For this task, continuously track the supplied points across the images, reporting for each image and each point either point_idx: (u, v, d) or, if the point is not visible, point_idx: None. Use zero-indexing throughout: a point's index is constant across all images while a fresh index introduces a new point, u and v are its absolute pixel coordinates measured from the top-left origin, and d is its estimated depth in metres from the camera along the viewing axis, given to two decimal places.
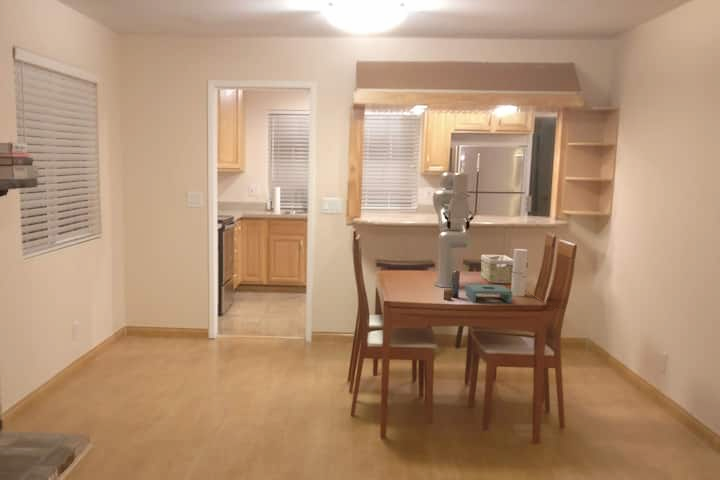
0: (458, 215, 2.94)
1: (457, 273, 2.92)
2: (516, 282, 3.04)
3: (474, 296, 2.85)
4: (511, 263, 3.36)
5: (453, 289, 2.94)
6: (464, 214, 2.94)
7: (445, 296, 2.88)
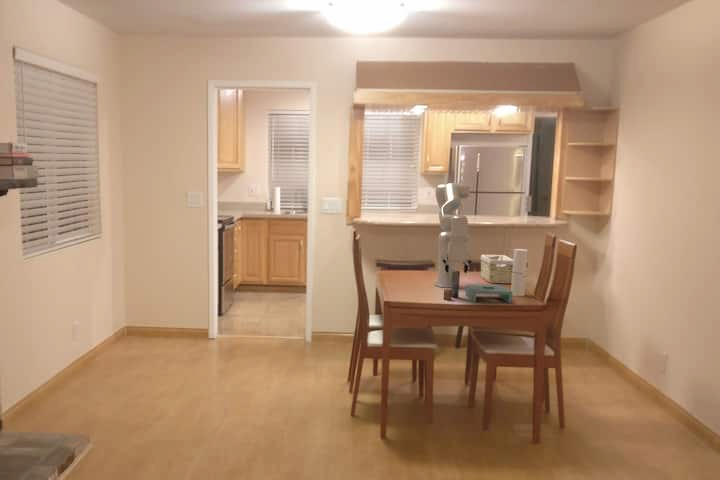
0: (456, 259, 2.91)
1: (457, 273, 2.92)
2: (516, 282, 3.04)
3: (474, 296, 2.85)
4: (511, 263, 3.36)
5: (453, 289, 2.94)
6: (462, 258, 2.91)
7: (445, 296, 2.88)
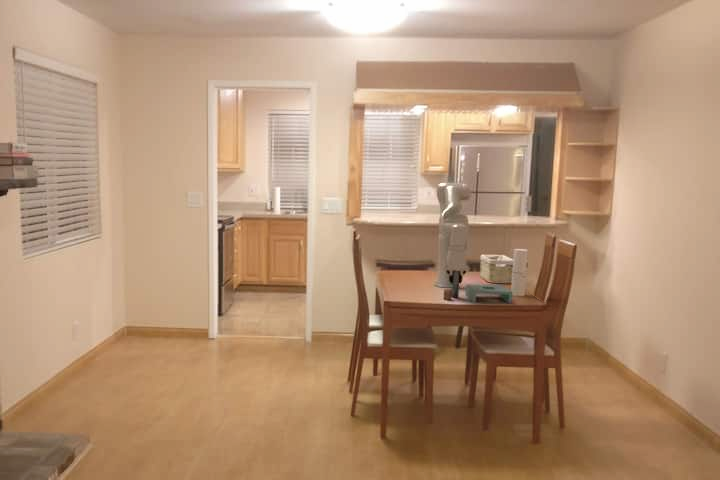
0: (455, 267, 2.92)
1: (457, 273, 2.92)
2: (516, 282, 3.04)
3: (474, 296, 2.85)
4: (510, 263, 3.36)
5: (453, 289, 2.94)
6: (462, 266, 2.92)
7: (445, 296, 2.88)
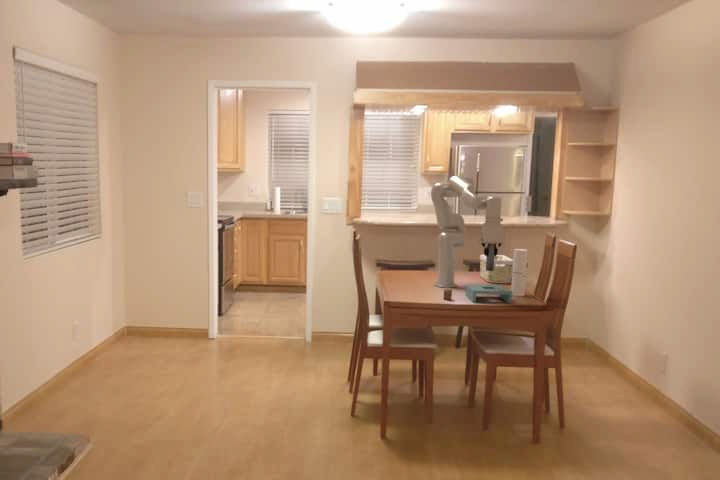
0: (491, 239, 2.88)
1: (493, 245, 2.88)
2: (516, 282, 3.04)
3: (474, 296, 2.85)
4: (510, 263, 3.36)
5: (488, 262, 2.89)
6: (497, 238, 2.88)
7: (445, 296, 2.88)
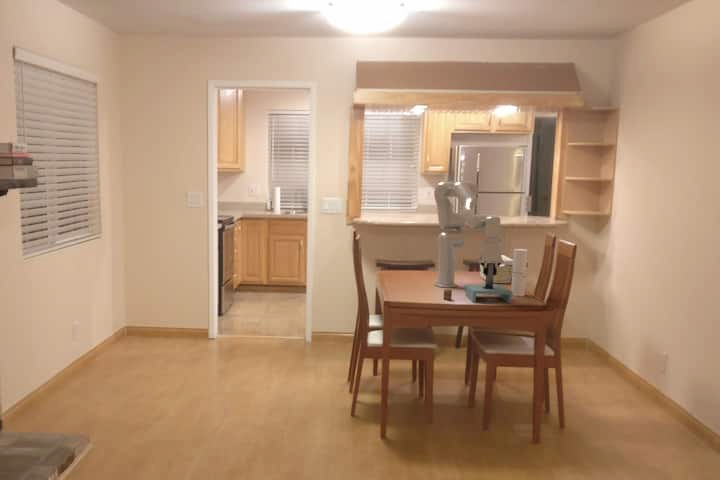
0: (490, 259, 2.89)
1: (492, 265, 2.89)
2: (516, 282, 3.04)
3: (474, 296, 2.85)
4: (509, 263, 3.36)
5: (488, 281, 2.91)
6: (496, 258, 2.89)
7: (445, 296, 2.88)
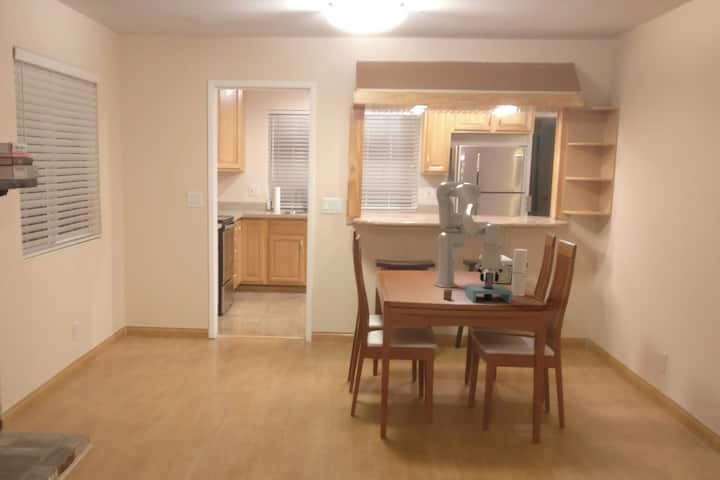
0: (489, 266, 2.89)
1: (491, 275, 2.90)
2: (516, 282, 3.04)
3: (474, 296, 2.85)
4: (509, 263, 3.36)
5: None
6: (496, 265, 2.89)
7: (445, 296, 2.88)
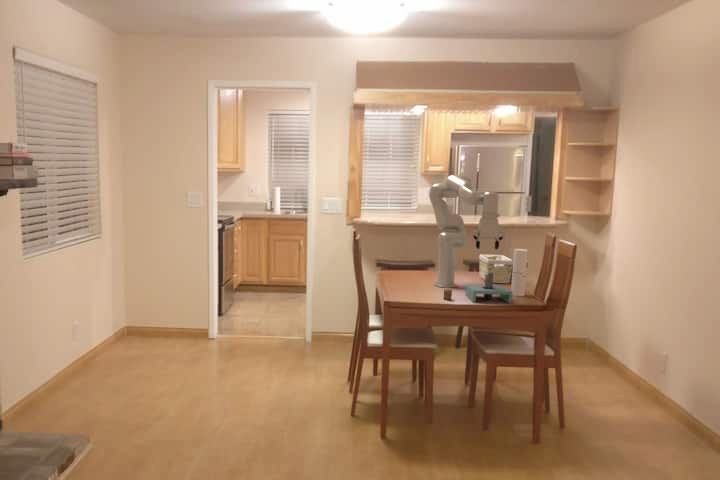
0: (488, 235, 2.89)
1: (491, 275, 2.90)
2: (516, 282, 3.04)
3: (474, 296, 2.85)
4: (508, 263, 3.36)
5: None
6: (494, 234, 2.89)
7: (445, 296, 2.88)
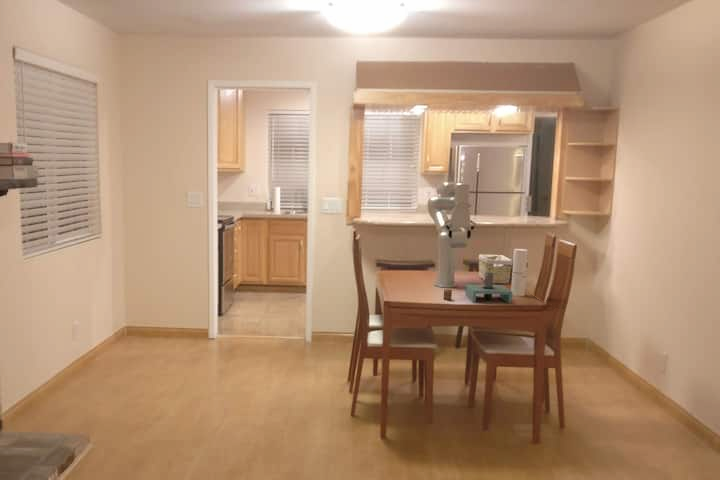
0: (459, 225, 2.99)
1: (491, 275, 2.90)
2: (516, 282, 3.04)
3: (474, 296, 2.85)
4: (508, 263, 3.36)
5: None
6: (465, 224, 2.99)
7: (445, 296, 2.88)
